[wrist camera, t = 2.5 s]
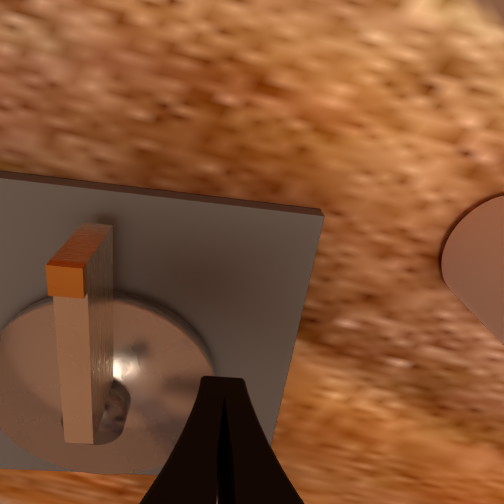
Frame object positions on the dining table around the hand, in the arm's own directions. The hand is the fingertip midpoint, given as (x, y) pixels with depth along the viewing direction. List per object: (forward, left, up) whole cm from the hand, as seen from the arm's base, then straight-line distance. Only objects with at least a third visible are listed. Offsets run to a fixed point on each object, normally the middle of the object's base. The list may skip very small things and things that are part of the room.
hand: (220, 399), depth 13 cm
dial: (-5, +6, -8) cm, 11 cm away
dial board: (-6, +6, -9) cm, 12 cm away
